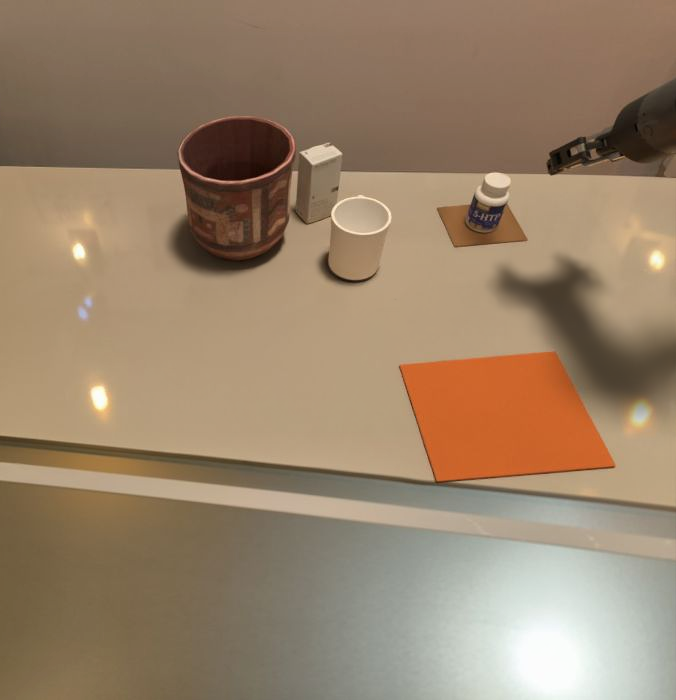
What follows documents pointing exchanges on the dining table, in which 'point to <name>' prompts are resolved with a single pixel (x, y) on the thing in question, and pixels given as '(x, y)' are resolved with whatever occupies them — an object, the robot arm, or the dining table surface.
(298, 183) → the cosmetic box
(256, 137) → the pottery
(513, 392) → the towel
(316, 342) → the dining table surface
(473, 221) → the pill bottle
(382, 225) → the mug
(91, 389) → the dining table surface
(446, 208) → the cork pad
